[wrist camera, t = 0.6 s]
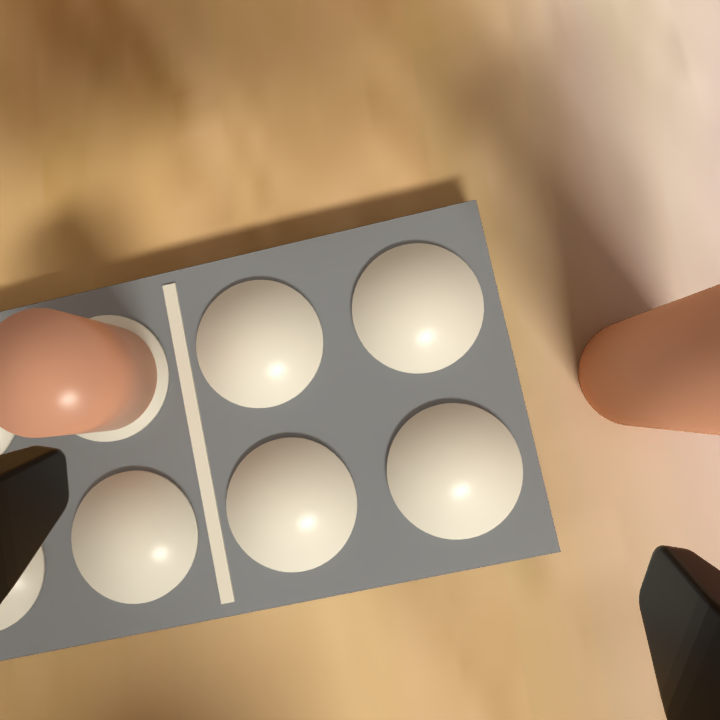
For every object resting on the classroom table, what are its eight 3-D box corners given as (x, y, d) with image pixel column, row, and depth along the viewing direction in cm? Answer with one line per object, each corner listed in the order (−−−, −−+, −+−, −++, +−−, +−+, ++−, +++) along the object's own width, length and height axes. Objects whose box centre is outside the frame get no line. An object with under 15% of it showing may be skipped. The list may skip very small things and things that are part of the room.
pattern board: (549, 541, 21) (603, 592, 15) (-44, 657, 23) (-194, 743, 17) (471, 213, 22) (493, 149, 17) (-88, 344, 24) (-243, 326, 18)
